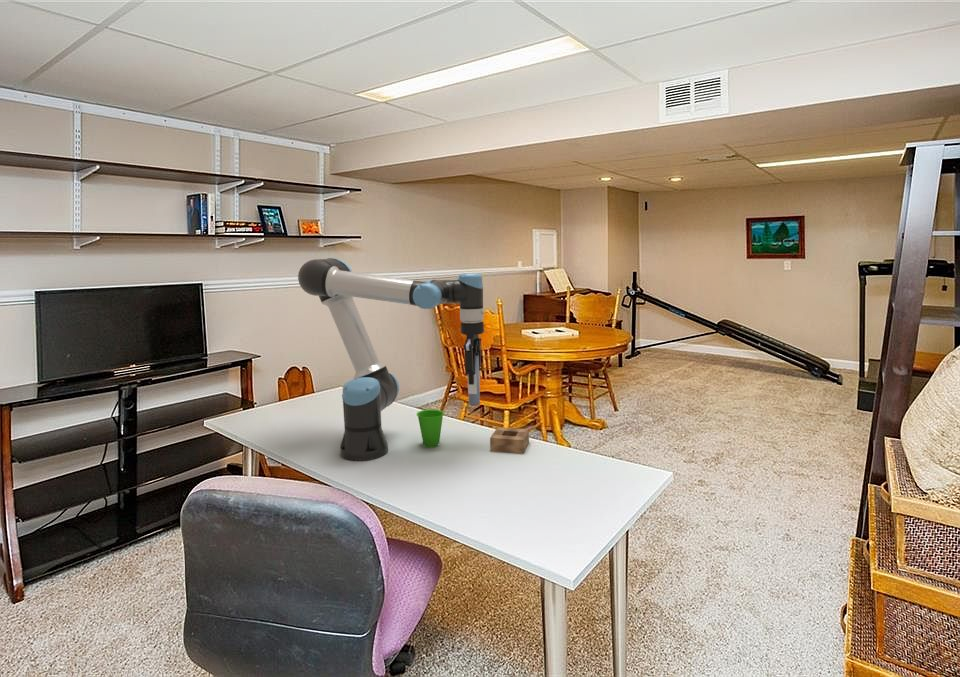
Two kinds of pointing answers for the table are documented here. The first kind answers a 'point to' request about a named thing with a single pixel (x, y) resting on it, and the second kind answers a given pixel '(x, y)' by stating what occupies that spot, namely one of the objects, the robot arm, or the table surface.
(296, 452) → the table surface
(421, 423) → the cup
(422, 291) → the robot arm
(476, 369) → the blue-grey rounded rod
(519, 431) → the wooden socket block
